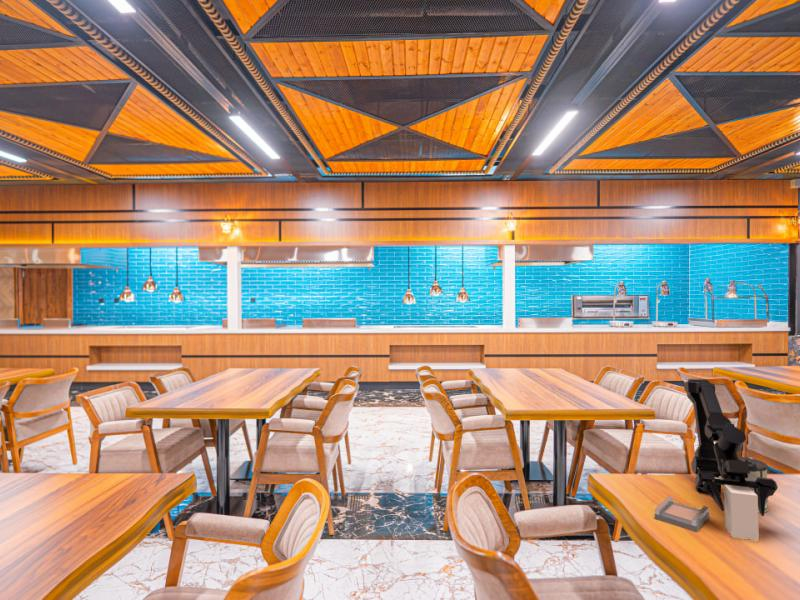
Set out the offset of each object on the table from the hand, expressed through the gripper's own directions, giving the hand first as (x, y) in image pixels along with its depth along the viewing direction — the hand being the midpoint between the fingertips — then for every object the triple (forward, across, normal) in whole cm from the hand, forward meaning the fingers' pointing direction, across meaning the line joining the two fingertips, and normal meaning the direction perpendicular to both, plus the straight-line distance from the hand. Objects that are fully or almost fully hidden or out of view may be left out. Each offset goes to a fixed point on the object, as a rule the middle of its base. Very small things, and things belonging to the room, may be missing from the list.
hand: (742, 513), depth 123 cm
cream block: (+4, 0, +6) cm, 7 cm away
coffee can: (-12, +9, +22) cm, 26 cm away
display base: (0, -13, +10) cm, 16 cm away
